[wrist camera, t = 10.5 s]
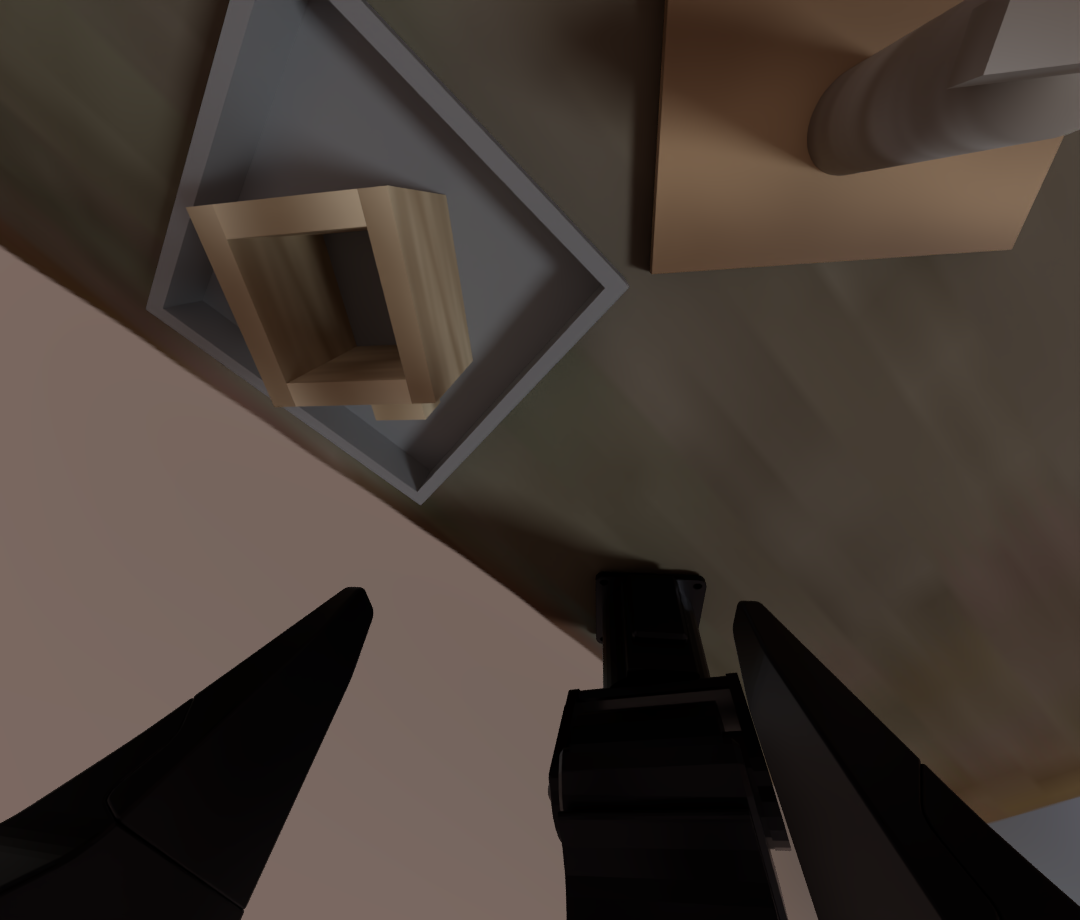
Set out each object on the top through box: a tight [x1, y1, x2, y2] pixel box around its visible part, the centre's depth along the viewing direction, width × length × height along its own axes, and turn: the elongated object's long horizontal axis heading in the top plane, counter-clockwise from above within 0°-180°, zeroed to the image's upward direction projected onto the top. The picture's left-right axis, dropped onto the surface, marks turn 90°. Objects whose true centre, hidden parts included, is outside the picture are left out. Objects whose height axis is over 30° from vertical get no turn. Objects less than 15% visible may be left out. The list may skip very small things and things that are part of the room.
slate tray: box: [146, 0, 629, 505], centre depth 17 cm, size 14×14×2 cm
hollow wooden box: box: [186, 185, 473, 420], centre depth 16 cm, size 6×8×5 cm
